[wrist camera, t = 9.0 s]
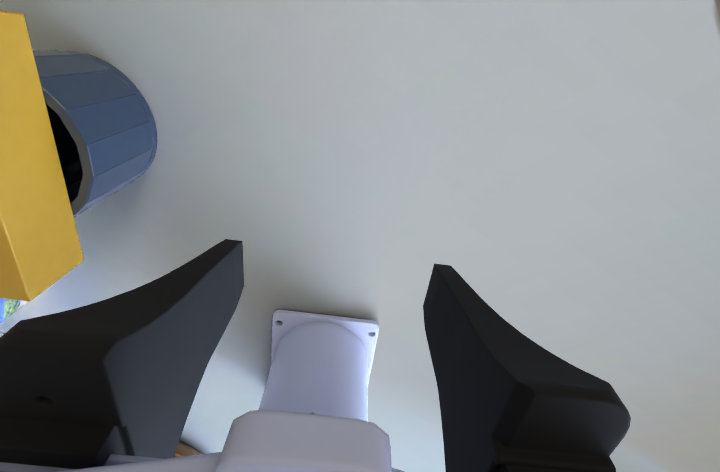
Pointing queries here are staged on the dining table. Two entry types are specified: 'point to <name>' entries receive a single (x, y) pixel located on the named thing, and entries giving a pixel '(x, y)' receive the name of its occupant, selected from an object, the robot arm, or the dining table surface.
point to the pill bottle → (9, 307)
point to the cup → (95, 125)
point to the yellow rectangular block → (29, 176)
